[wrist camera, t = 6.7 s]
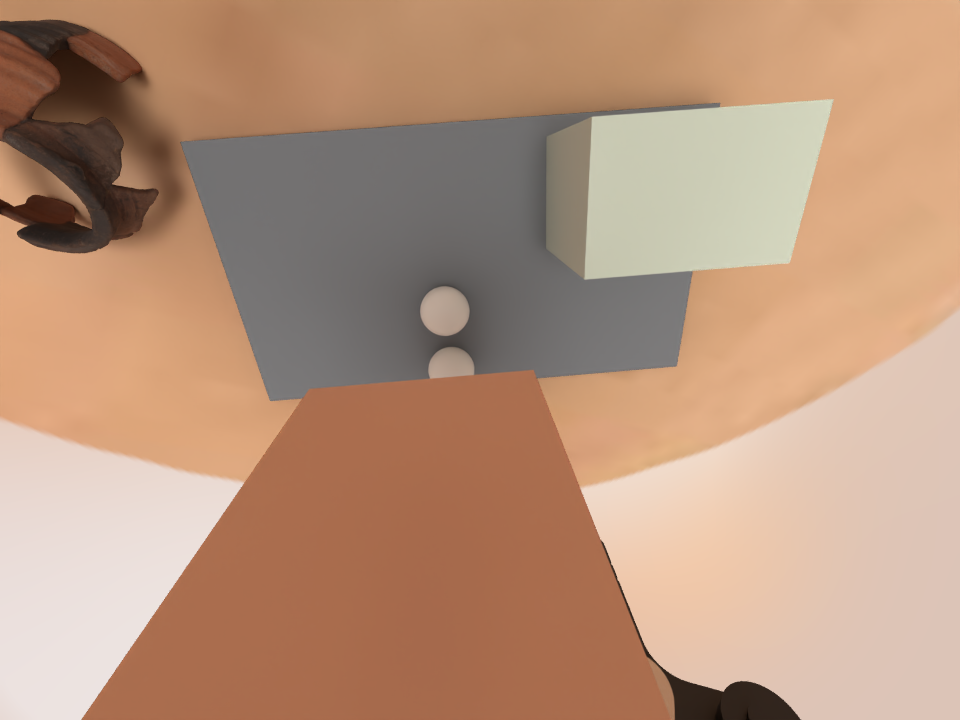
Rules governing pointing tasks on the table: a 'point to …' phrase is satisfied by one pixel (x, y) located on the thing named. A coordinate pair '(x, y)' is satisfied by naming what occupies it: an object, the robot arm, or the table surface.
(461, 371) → the marble
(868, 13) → the table surface
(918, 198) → the table surface
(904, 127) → the table surface
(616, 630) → the upright salmon pillar
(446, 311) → the marble
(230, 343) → the table surface
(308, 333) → the slate mat
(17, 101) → the brown sculpted ring
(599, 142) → the pale green cuboid
